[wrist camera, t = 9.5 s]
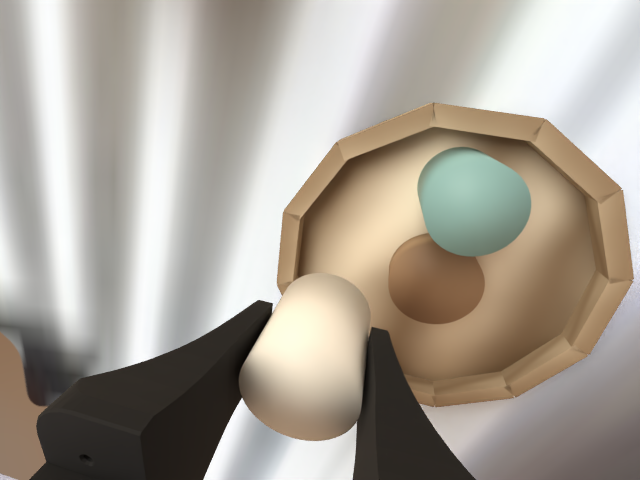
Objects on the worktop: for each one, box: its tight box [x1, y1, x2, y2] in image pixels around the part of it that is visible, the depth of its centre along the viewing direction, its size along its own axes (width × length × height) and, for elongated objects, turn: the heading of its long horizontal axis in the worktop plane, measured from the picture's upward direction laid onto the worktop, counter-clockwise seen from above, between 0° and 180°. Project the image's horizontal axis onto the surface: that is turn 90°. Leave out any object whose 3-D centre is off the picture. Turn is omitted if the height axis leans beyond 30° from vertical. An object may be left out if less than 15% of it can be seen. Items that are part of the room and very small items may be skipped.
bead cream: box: [239, 273, 371, 441], centre depth 13 cm, size 4×4×4 cm
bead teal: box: [417, 147, 531, 257], centre depth 15 cm, size 4×4×4 cm
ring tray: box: [277, 103, 634, 407], centre depth 19 cm, size 18×18×2 cm
